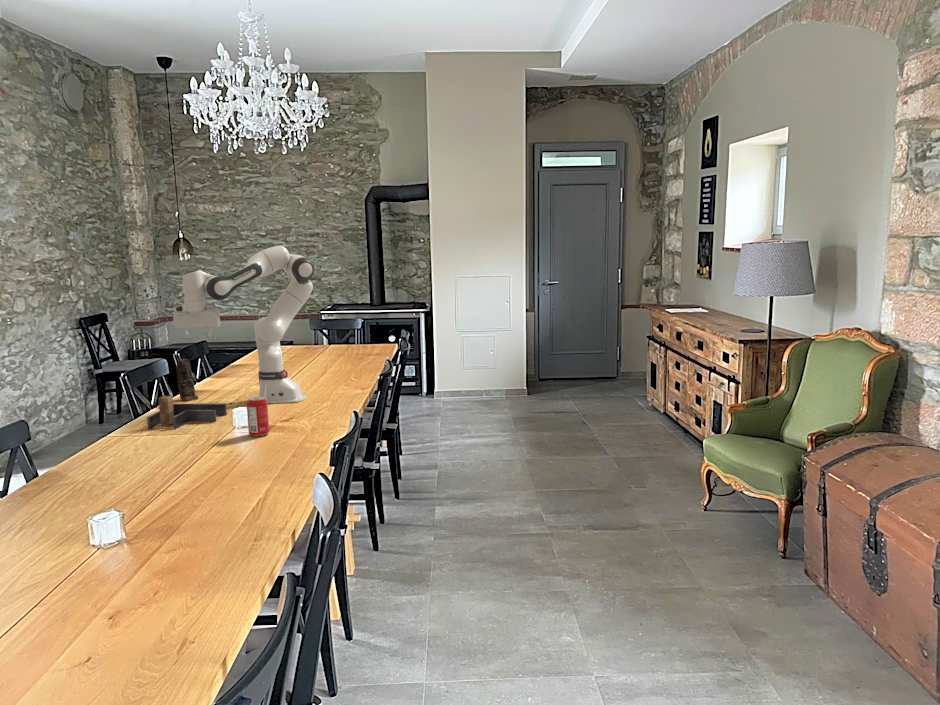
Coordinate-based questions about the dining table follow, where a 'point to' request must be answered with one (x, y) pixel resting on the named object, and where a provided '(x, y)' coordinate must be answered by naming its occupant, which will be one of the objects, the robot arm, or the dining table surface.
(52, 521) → the dining table surface
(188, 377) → the statue
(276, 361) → the robot arm
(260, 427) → the soda can
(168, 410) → the walnut block
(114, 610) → the dining table surface
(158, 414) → the channel
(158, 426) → the pad
